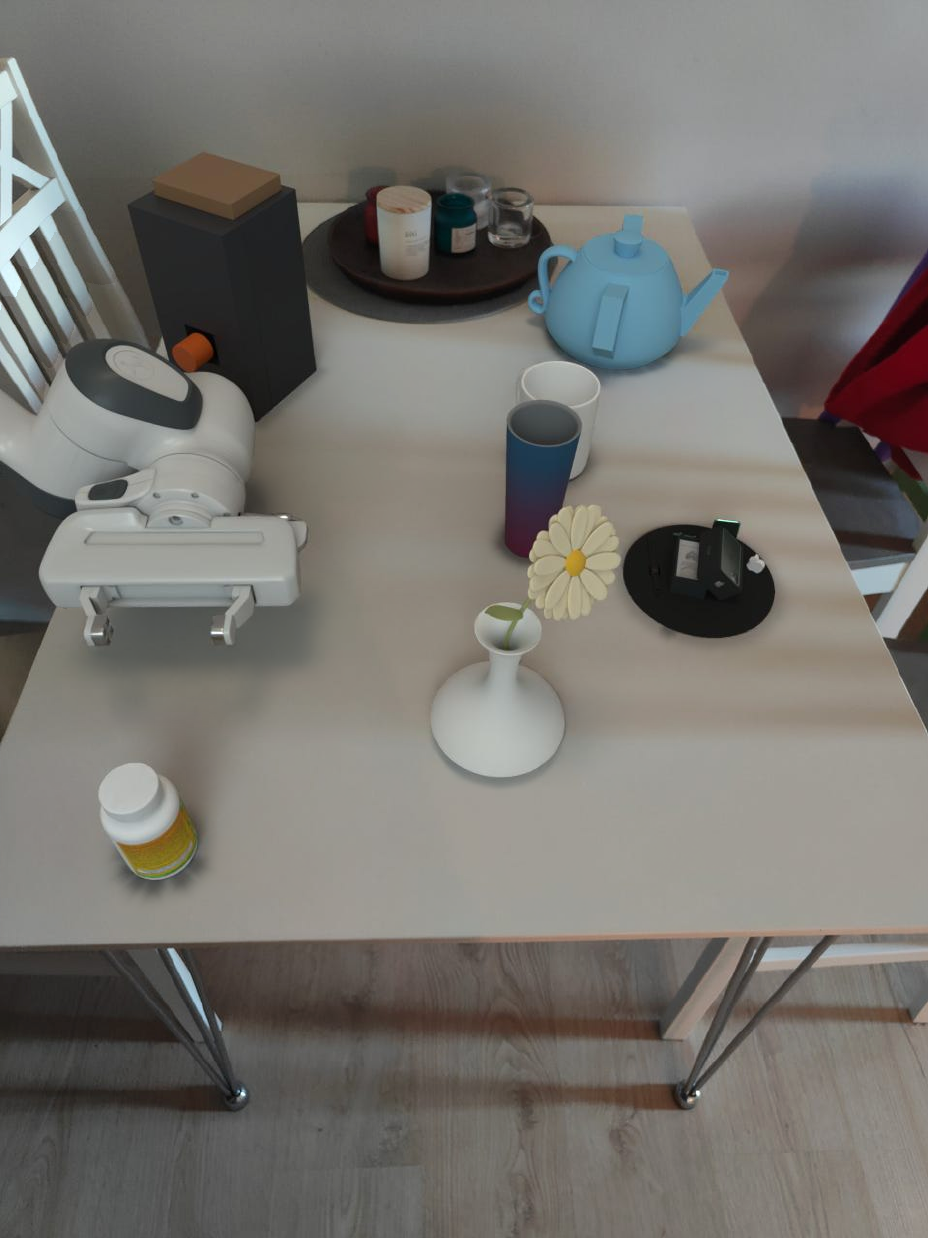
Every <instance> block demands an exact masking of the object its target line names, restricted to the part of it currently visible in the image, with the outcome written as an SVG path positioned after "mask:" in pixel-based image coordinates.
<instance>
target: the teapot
mask: <svg viewBox="0 0 928 1238" xmlns="http://www.w3.org/2000/svg"><path fill="white" fill-rule="evenodd" d="M643 223H644V215H638V214H630V213H624V214H623V221H622V226H621V229H620V230H617V231H615V232H611V233H604V234H600V235H596V236H594V237H592V238H591V239H589V240H587V241H586V242H585V243H584V244H583V245H582V246H580V247H579V249H578V250H576V249H575V248H574V247H572V246H570V245H567V244H555V245H552V246H550V247H548V248H546V249H545V250H544V251H542V253H541V255H540V257H539V259H538V261H537V262H538V263H537V279H538V284H539V289H535V290H533V291H532V292H531V293H530V294H529V295H528V298H527V306H528V309H529V310H530V311H531V312H532V313H534V314H535V315H537V316H538V315H540V316H543V315H544V321H545V325H546V329H547V330H548V332H549V335H550V336H551V337H552V339H553V340H554V342H556V344H557V346H559V347H560V348H561V350H563V352H564V353H565V354H566V355H568V356H569V357H571V358H573V359H574V360H576V361H579V362H580V363H583V364H586V365H588V366H592V367H594V368H595V367H596V368H601V369H607V370H630V369H631V370H632V369H637V368H641V367H644V366H647V365H649V364H652V363H653V362H655V361H656V360H659V359H660V358H662V357H663V356H665V355H666V354H668V353H669V352H670V351H672V349H673V348H674V347H675V346H676V345H677V343H678V342H679V341H680V339H681V337H686V336H687V334H688V333H689V332H690V331H691V329H692V327H693V326H694V325H695V323H696V322H697V321H698V319H699V318H700V317H701V315H703V313H704V311H705V310H706V309H707V308H708V306H709V305H710V304H711V303H712V301H713V300H714V298H715V297H716V296H717V294H719V292H720V290H721V289H722V287H723V286H724V285H725V284H726V283H727V281H728V280H729V277H730V270H726V269H722V268H721V269H720V268H716V267H713V268H712V270H711V271H710V272H709V273H708V275H706V276H705V277H704V278H703V279H702V280H701V281H700V282H699V283H698V284H696V286H695V287H693V289H692V290H690V291H689V293H683V288H682V285H681V282H680V279H679V276H678V273H677V271H676V268H675V266H674V263H673V261H672V259H671V257H670V255H669V253H668V252H667V250H666V249H665V248H664V247H663V246H662V245H660V244H659V243H658V242H656V241H654V240H653V239H650V238H648V237H645V236H644V235H643V234H642V231H643ZM555 257H560V258H564V259H566V260H568V262H567V263H566V264H565V265H564V267H563V268H562V269H561V271H560V272H559V274H558V276H557V277H556V279H555V281H554V283H553V285H552V287H551V286H550V280H549V275H548V263H549V260H550V259H551V258H555ZM536 298H540V299H541V303H540V302H538V301H537V300H536Z"/></svg>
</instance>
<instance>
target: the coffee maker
mask: <svg viewBox="0 0 928 1238" xmlns="http://www.w3.org/2000/svg"><path fill="white" fill-rule="evenodd" d="M281 181H282V180H281V174H280V173H276V172H274V171H270V170H267V169H263V168H260V167H256V166H254V165H250V164H246V163H243V162H240V161H236V160H232V159H229V158H226V157H223V156H218V155H216V154H213V153H209V152H207V151H202V152H200V153H197V154H196V155H194V156H192V157H191V158H188V159H186V160H185V161H183V162H181V163H179V164H178V165H176V166H174V167H171V168H170V169H168V170H166V171H164V172H163V173H161V174H159V175H157V176H155V177H153V178H152V179H151V184H152V188H153V190H151V191H149V192H148V193H145V194H144V195H142V196H140V197H138V198H136V199H134V200H133V201H131V202H129V203H127V205H126V206H127V210H128V213H129V217H130V222H131V224H132V228H133V232H134V236H135V240H136V243H137V247H138V251H139V255H140V258H141V261H142V265H143V269H144V274H145V276H146V280H147V284H148V288H149V292H150V295H151V299H152V302H153V307H154V311H155V314H156V318H157V322H158V326H159V329H160V333H161V336H162V340H163V345H164V348H165V352H166V355H167V360H168V361H170V362H171V363H173V364H174V365H175V366H176V367H178V368H179V369H180V370H181V371H182V372H184V373H193V372H187V371H185V370H184V369H182V368H181V367H180V366H179V365H178V364H177V362H176V361H175V359H174V357H173V353H172V350H173V347H174V346H176V345H177V344H178V343H180V342H181V341H182V340H184V339H185V338H187V337H188V336H189V335H191V334H192V333H199V334H201V335H203V336H204V337H205V338H206V339H207V340H208V341H209V342H210V344H211V346H212V348H213V357H212V358H211V359H210V360H209V361H207V362H206V363H205V364H203V365H202V366H201V367H200V368H198V369H197V370H196V371H194V372H210V373H215V374H218V375H220V376H223V377H225V378H226V379H228V380H230V381H231V382H233V383H234V384H235V385H236V386H238V387H239V388H240V390H241V391H242V392H243V393H244V395H245V396H246V398H247V400H248V402H249V404H250V407H251V409H252V413H253V416H254V422H259V421H260V420H261V419H262V418H263V417H264V416H265V415H267V414H268V413H269V412H270V411H271V410H273V408H275V407H276V406H277V405H278V404H279V403H280V402H282V401H283V400H284V399H285V398H286V397H287V396H289V395H290V394H291V393H292V392H293V391H294V390H296V389H297V388H298V387H299V386H300V385H301V384H302V383H304V382H305V381H306V380H307V379H308V378H309V377H311V376H312V375H313V374H314V373H315V372H316V371H317V362H316V354H315V345H314V337H313V328H312V320H311V311H310V303H309V293H308V284H307V276H306V267H305V260H304V259H305V258H304V251H303V242H302V233H301V226H300V225H301V224H300V216H299V210H298V209H299V208H298V207H299V206H298V199H297V192H296V191H297V190H296V188H294V187H290V186H287V185H283V184H282V182H281Z"/></svg>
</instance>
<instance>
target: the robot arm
mask: <svg viewBox="0 0 928 1238" xmlns="http://www.w3.org/2000/svg"><path fill="white" fill-rule="evenodd" d="M255 423H256V421H254V416H253V413H252V409H251V407H250V404H249V402H248V400H247V398H246V396H245V395H244V393H243V392H242V391H241V390H240V388H239V387H238V386H236V385H235V384H234V383H233V382H231V381H230V380H228V379H226V378H225V377H223V376H220V375H218V374H215V373H210V372H193V373H184V372H182V371H181V370H180V369H179V368H178V367H176V366H175V365H174V364H173V363H171V362H170V361H169V359H168V358H166V357H164V356H163V355H161V354H159V353H157V352H155V351H154V350H151V349H150V348H147V347H146V346H143V345H141V344H138V343H135V342H132V341H127V340H123V339H117V338H94V339H88V340H84V341H82V342H79V343H76V344H74V345H73V346H72V347H71V348H70V349H69V350H68V351H67V353H66V355H65V357H64V360H63V361H62V363H61V365H60V367H59V369H58V371H57V372H56V375H55V376H54V379H53V380H52V382H51V385H50V386H49V388H48V392H47V394H46V396H45V398H44V401H43V403H42V404H41V407H40V408H39V410H38V412H37V414H34V413H33V412H30V411H29V410H27V409H26V408H25V407H24V406H23V405H22V404H20V403H19V402H18V401H16V400H15V399H14V398H13V397H11V396H10V395H8V393H6V392H5V391H4V390H2V389H1V388H0V474H1V475H2V477H4V478H5V479H6V480H7V481H8V482H9V483H10V484H11V486H13V487H14V488H15V490H16V491H18V492H19V494H21V495H22V496H23V497H24V499H25V500H26V501H28V502H29V503H30V505H32V506H33V507H35V508H36V509H38V510H39V511H41V512H42V513H45V514H46V515H48V516H50V517H53V518H55V519H58V520H60V521H61V520H62V522H61V523H60V524H59V525H58V527H57V528H56V530H55V532H54V534H53V536H52V538H51V540H50V542H49V544H48V546H47V548H46V550H45V553H44V555H43V557H42V560H41V562H40V565H39V568H38V578H39V581H40V584H41V586H42V589H43V590H44V592H45V593H46V596H47V597H48V598H49V600H50V601H51V603H52V604H54V606H55V607H57V608H59V609H83V611H84V613H85V616H86V617H87V619H86V623H85V625H84V628H83V638H84V640H85V642H86V644H87V646H88V647H109V646H110V645H111V643H112V641H111V639H112V638H113V635H114V633H115V630H114V627H113V625H112V624H111V621H110V619H109V616H108V615H105V614H106V612H107V609H108V608H109V609H111V608H113V609H115V608H117V609H118V608H208V607H209V608H217V607H220V608H221V607H222V608H223V607H224V608H225V607H227V608H228V609H227V611H226V612H224V613H223V614H213V615H212V620H211V622H212V624H211V626H210V638H211V639H212V644H213V645H214V646H226V645H227V646H229V645H231V646H234V644H235V639H236V634H237V630H239V629H240V627H242V626H243V625H244V624H245V623H246V622H247V621H248V620H249V619H250V618H251V617H252V616H253V615H254V611H255V607H289V606H291V605H292V604H294V602H296V601H297V600H298V599H299V598H300V596H301V591H302V590H301V589H302V587H301V586H302V576H301V574H302V573H301V563H300V556H299V553H301V552H303V550H305V548H306V546H307V543H308V541H309V540H308V539H309V531H310V530H309V526H308V524H307V523H306V522H305V521H304V520H302V519H301V518H298V517H295V516H293V514H292V513H287V512H276V513H263V512H244V511H245V506H246V499H247V491H246V483H247V481H248V480H249V478H250V476H251V472H252V467H253V460H254V453H255V443H256V424H255Z"/></svg>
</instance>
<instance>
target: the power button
mask: <svg viewBox="0 0 928 1238" xmlns="http://www.w3.org/2000/svg"><path fill="white" fill-rule="evenodd" d="M172 353H173V357H174V359H175V361H176V362H177V364H178V365H179V366H180V367H181V368H182V369H184V370H185V371H187V372H194V371H196V370H197V369H198V368H200V367H201V366H202V365H203V364H205V363H206V362H207V361H209V360H210V359H211V358H212V357H213V348H212V346H211V344H210V342H209V341H208V340H207V339H206V338H205V337H204V336H203V335H201V334H199V333H192V334H191V335H189V336H188V337H187V338H185V339H184V340H182V341H181V342H180V343H178V344H177V345H176V346H174V347H173V350H172Z"/></svg>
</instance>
